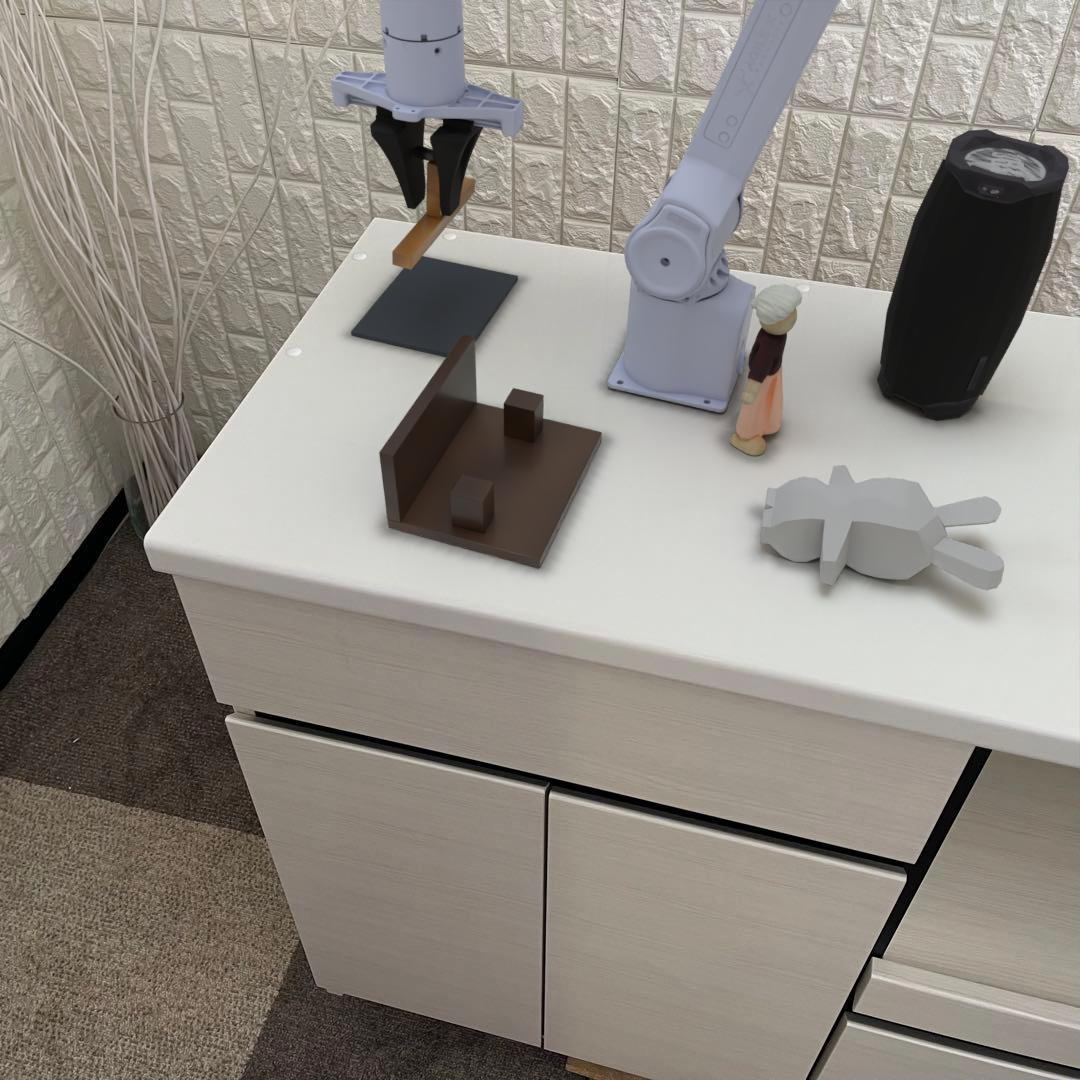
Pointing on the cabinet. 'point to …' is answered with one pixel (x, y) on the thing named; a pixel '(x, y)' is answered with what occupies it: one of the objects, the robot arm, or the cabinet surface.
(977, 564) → the bunny figurine
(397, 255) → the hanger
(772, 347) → the grandmother figurine
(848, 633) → the cabinet surface
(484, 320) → the pad
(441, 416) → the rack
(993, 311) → the portable speaker
